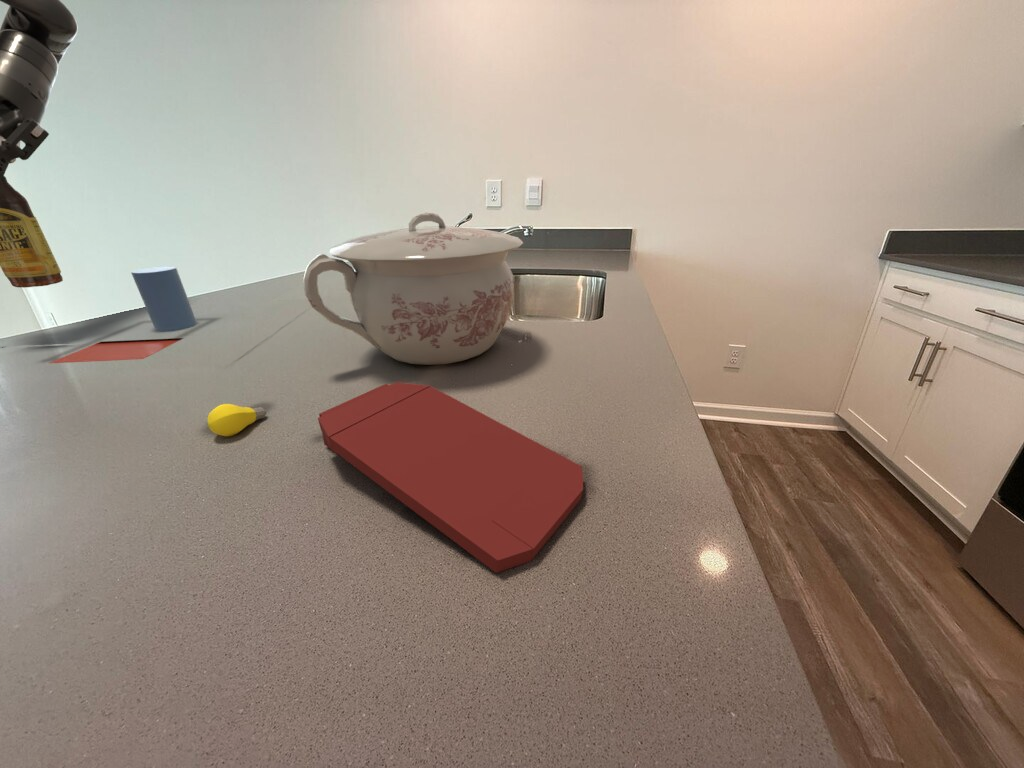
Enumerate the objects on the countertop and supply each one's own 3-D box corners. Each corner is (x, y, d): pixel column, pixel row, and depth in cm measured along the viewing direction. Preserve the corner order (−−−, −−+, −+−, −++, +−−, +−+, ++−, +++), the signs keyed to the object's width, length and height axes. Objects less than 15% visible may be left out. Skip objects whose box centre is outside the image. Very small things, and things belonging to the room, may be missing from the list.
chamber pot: (529, 324, 77) (528, 206, 68) (516, 389, 53) (513, 217, 44) (387, 323, 80) (369, 209, 71) (313, 384, 56) (270, 222, 47)
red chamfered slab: (584, 512, 37) (401, 404, 49) (596, 473, 35) (399, 369, 46) (506, 614, 29) (305, 453, 40) (514, 572, 26) (297, 413, 38)
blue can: (147, 334, 75) (121, 273, 70) (171, 324, 80) (148, 267, 75) (184, 333, 75) (160, 272, 70) (204, 322, 81) (184, 265, 76)
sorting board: (50, 367, 63) (47, 363, 63) (145, 328, 81) (143, 324, 81) (144, 363, 64) (142, 358, 64) (218, 324, 82) (216, 321, 81)
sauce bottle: (1, 290, 64) (-85, 145, 55) (31, 282, 70) (-43, 149, 61) (52, 286, 66) (-24, 144, 57) (77, 279, 71) (11, 148, 62)
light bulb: (204, 441, 43) (196, 408, 43) (259, 428, 49) (252, 399, 48) (223, 438, 42) (215, 405, 41) (277, 425, 47) (270, 395, 47)
